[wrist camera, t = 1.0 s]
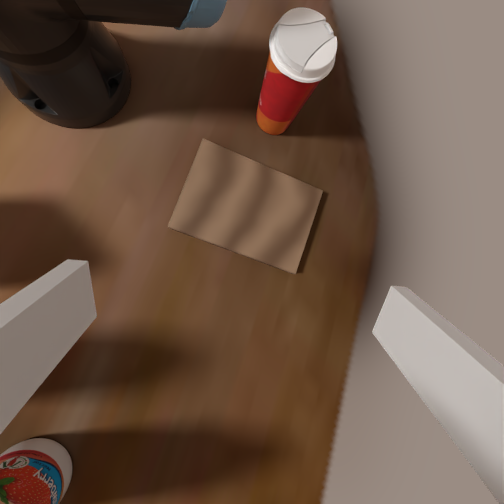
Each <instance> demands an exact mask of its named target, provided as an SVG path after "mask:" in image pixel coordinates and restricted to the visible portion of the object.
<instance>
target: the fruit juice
mask: <svg viewBox="0 0 504 504" xmlns="http://www.w3.org/2000/svg"><path fill="white" fill-rule="evenodd" d="M71 477H72V461H71V457H70V455H69V453H68V452H67V450H66V449H65V448H64V447H63V446H62V445H61V444H59V443H58V442H56V441H53V440H50V439H46V438H34V439H29V440H25V441H22V442H20V443H18V444H16V445H14V446H12V447H10V448H9V449H7V450H6V451H5V452H3V453H2V454H1V455H0V504H59V503H60V501H61V500H62V498H63V497H64V495H65V493H66V491H67V489H68V486H69V484H70V481H71Z"/></svg>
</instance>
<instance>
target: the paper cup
mask: <svg viewBox="0 0 504 504" xmlns="http://www.w3.org/2000/svg"><path fill="white" fill-rule="evenodd" d="M325 20H326V18H325V17H324V16H323V15H321V14H320V13H319V12H317V11H315V10H312V9H309V8H295V9H292V10H290V11H288V12H287V13H285V14H284V15H283V16H282V17H281V19H280V20H279V22H277V24H276V25H275V26H274V28H273V29H272V32H271V35H270V40H269V47H270V52H269V57H268V61H267V66H266V70H265V75H264V79H263V84H262V89H261V93H260V98H259V103H258V108H257V114H256V119H257V123H258V125H259V127H260V128H261V129H262V130H263V131H264V132H266V133H268V134H270V135H279V134H281V133H283V132H284V131H285V130H286V129H287V128H288V127H289V125H290V124H291V123H292V121H293V120H294V118H295V117H296V116H297V114H298V113H299V111H300V110H301V108H302V107H303V106H304V104H305V103H306V101H307V100H308V98H309V97H310V95H311V94H312V93H313V91H314V90H315V88H316V87H317V85H318V84H319V82H320V81H321V80H322V79H323V78H325V77H326V76H327V75H328V74H329V73H330V71H331V70H332V68H333V66H334V62H335V55H336V51H337V38H336V37H334V35H333V33H334V32H333V30H332V28H331V27H330V25H329V23H326V21H325Z"/></svg>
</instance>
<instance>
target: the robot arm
mask: <svg viewBox="0 0 504 504" xmlns="http://www.w3.org/2000/svg"><path fill="white" fill-rule="evenodd" d="M226 1H227V0H0V76H1V78H2V80H3V81H4V83H5V85H6V86H7V88H8V89H9V90H10V91H11V93H12V94H13V95H14V96H15V97H16V98H17V99H18V100H19V101H20V102H21V103H22V104H24V105H25V106H26V107H27V108H28V109H29V110H30V111H32V112H33V113H34V114H35V115H37V116H38V117H40V118H42V119H44V120H46V121H48V122H50V123H53V124H56V125H59V126H64V127H70V128H84V127H90V126H95V125H98V124H101V123H103V122H105V121H107V120H109V119H110V118H112V117H113V116H114V115H115V114H117V113H118V112H119V110H120V109H121V108H122V107H123V105H124V104H125V102H126V100H127V98H128V95H129V92H130V85H131V78H130V71H129V68H128V65H127V62H126V60H125V57H124V55H123V52H122V50H121V48H120V46H119V45H118V43H117V41H116V40H115V38H114V37H113V36H112V34H111V33H110V32H109V31H108V30H107V28H106V27H105V26H104V25H103V24H102V23H101V22H111V23H124V24H138V25H151V26H164V27H174V28H175V29H176V30H181V29H185V28H208V27H211V26H212V25H214V23H216V22H217V21H218V20H219V19H220V17H221V15H222V13H223V11H224V8H225V5H226ZM96 317H97V314H96V308H95V302H94V295H93V289H92V282H91V276H90V270H89V263H88V261H82V260H70V259H67V260H66V261H64V262H63V263H61V264H60V265H58V266H57V267H55V268H54V269H52V270H51V271H49V272H48V273H46V274H45V275H43V276H42V277H40V278H39V279H37V280H36V281H34V282H33V283H31V284H30V285H28V286H27V287H25V288H24V289H22V290H21V291H19V292H18V293H16V294H15V295H13V296H12V297H10V298H9V299H7V300H6V301H4V302H3V303H1V304H0V434H1V433H2V431H3V430H4V429H5V428H6V427H7V425H8V424H9V423H10V422H11V421H12V419H13V418H14V417H15V416H16V414H17V413H18V412H19V411H20V410H21V408H22V407H23V406H24V405H25V403H26V402H27V401H28V400H29V399H30V397H31V396H32V395H33V394H34V393H35V391H36V390H37V389H38V388H39V386H40V385H41V384H42V383H43V382H44V380H45V379H46V378H47V377H48V375H49V374H50V373H51V372H52V371H53V369H54V368H55V367H56V366H57V364H58V363H59V362H60V361H61V360H62V358H63V357H64V356H65V355H66V354H67V352H68V351H69V350H70V349H71V347H72V346H73V345H74V344H75V343H76V341H77V340H78V339H79V338H80V336H81V335H82V334H83V333H84V332H85V330H86V329H87V328H88V327H89V325H90V324H91V323H92V322H93V321H94V319H95V318H96ZM372 333H373V334H374V336H375V337H376V338H377V340H378V341H379V342H380V344H381V345H382V346H383V348H384V349H385V350H386V352H387V353H388V354H389V356H390V357H391V359H392V360H393V361H394V362H395V364H396V365H397V367H398V368H399V369H400V371H401V372H402V373H403V375H404V376H405V377H406V379H407V380H408V381H409V383H410V384H411V385H412V387H413V388H414V389H415V391H416V392H417V393H418V395H419V396H420V398H421V399H422V400H423V401H424V403H425V404H426V405H427V407H428V408H429V409H430V411H431V412H432V414H433V415H434V416H435V418H436V419H437V420H438V422H439V423H440V424H441V426H442V427H443V428H444V430H445V431H446V432H447V434H448V435H449V437H450V438H451V439H452V441H453V442H454V443H455V445H456V446H457V447H458V449H459V450H460V451H461V452H462V454H463V455H464V457H465V458H466V459H467V461H468V462H469V463H470V465H471V466H472V467H473V468H474V470H475V471H476V473H477V474H478V475H479V477H480V478H481V480H482V481H483V482H484V484H485V485H486V486H487V487H488V489H489V490H490V492H491V493H492V494H493V496H494V497H495V498H496V500H497V501H498V502H499V504H504V365H503V364H501V363H500V362H499V361H497V360H496V359H495V358H494V357H493V356H491V355H490V354H489V353H488V352H487V351H485V350H484V349H483V348H482V347H480V346H479V345H478V344H477V343H475V342H474V341H473V340H472V339H470V338H469V337H468V336H467V335H465V334H464V333H463V332H462V331H461V330H459V329H458V328H457V327H455V326H454V325H453V324H452V323H451V322H449V321H448V320H447V319H446V318H444V317H443V316H442V315H441V314H440V313H438V312H437V311H436V310H435V309H433V308H432V307H431V306H430V305H428V304H427V303H426V302H424V301H423V300H422V299H421V298H420V297H418V296H417V295H416V294H415V293H414V292H412V291H411V290H410V289H409V288H407V287H403V286H391V287H390V290H389V292H388V295H387V297H386V299H385V302H384V304H383V307H382V309H381V311H380V314H379V317H378V319H377V321H376V324H375V326H374V329H373V331H372Z"/></svg>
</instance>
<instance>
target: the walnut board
mask: <svg viewBox="0 0 504 504" xmlns="http://www.w3.org/2000/svg"><path fill="white" fill-rule="evenodd" d="M322 193H323V191H322V190H320V189H318V188H316V187H313V186H311V185H309V184H306V183H304V182H302V181H299V180H297V179H295V178H293V177H290V176H288V175H286V174H283V173H281V172H279V171H277V170H274V169H272V168H270V167H267V166H265V165H263V164H260V163H258V162H256V161H254V160H251V159H249V158H247V157H244V156H242V155H240V154H238V153H235V152H233V151H231V150H228V149H226V148H224V147H221V146H219V145H217V144H215V143H212V142H210V141H208V140H205V139H203V140H202V142H201V145H200V147H199V150H198V152H197V154H196V157H195V159H194V162H193V164H192V167H191V169H190V172H189V174H188V177H187V179H186V182H185V184H184V187H183V189H182V192H181V194H180V197H179V199H178V202H177V204H176V207H175V209H174V212H173V214H172V217H171V219H170V222H169V224H168V226H167V227H169V228H170V229H173V230H176V231H178V232H181V233H184V234H186V235H189V236H192V237H194V238H197V239H200V240H203V241H205V242H208V243H211V244H213V245H216V246H219V247H221V248H224V249H227V250H230V251H232V252H235V253H238V254H240V255H243V256H246V257H249V258H251V259H254V260H257V261H259V262H262V263H265V264H267V265H270V266H273V267H276V268H278V269H281V270H284V271H286V272H289V273H292V274H296V271H297V268H298V265H299V262H300V259H301V256H302V253H303V250H304V247H305V244H306V241H307V238H308V235H309V232H310V229H311V226H312V223H313V220H314V217H315V214H316V211H317V208H318V205H319V202H320V199H321V196H322Z"/></svg>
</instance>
